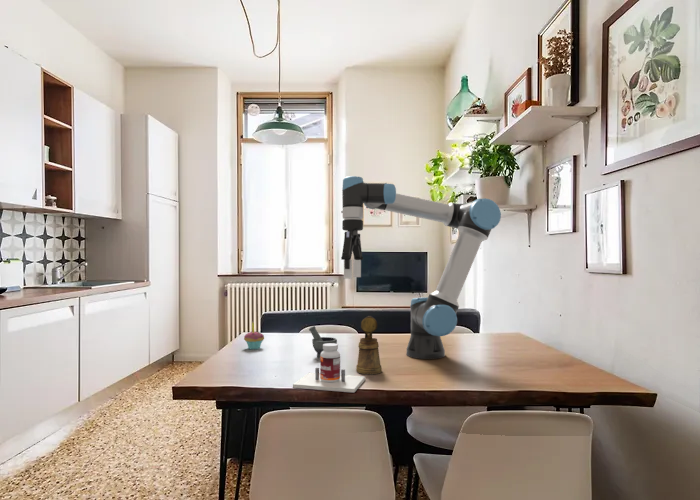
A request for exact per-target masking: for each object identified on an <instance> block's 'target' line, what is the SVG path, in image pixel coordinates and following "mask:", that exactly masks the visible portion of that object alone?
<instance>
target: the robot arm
mask: <svg viewBox="0 0 700 500" xmlns="http://www.w3.org/2000/svg"><path fill="white" fill-rule="evenodd" d="M341 189H342V190H341V191H342V192H341V193H342V194H341V195H342V200H341V201H342V210H341V214H342V219H343V220H342V226H341V227H342V230H343V231H344V238H343V246H342V254H341V260H343V279H346V280H347V279H348V280H349V279H350V280H352V279H353V278H362V261H363V260H364V257H363V252H362V243H361V234H360V233H359V232H358V231H363V229H364V221H363V219H364V206H365V207H366V208H367V209H369V210H376V209H377V210H381V211H386V212H392V213H396V214H401V215H405V216H410V217H416V218H420V219H425V220H429V221H434V222H438V223H443V225H444V226H446V227H450V228H454V229H457V230H458V233H459V235H458V237H457V239H456V242H455V244H454V246H453V249H452V252H451V253H450V255H449V258H448V261H447V263H446V265H445V267H444V269H443V272H442V274H441V277H440V279H439V281H438V283H437V286H436V289H435V291H433V292H430V293H429V295H428V296H427V297H413V298H411V300H410V305H409V306H410V337H409V340H408V342H407V343H408V344H407V346H406V356H407V357H410V358H412V359H420V360H436V359H437V360H439V359H441V358H445V356H446V355H445V353H446V351H445V347H444V344H443V341H442V337H446V336H447V335H450V334H451V333H452V332H454V330H455V328H456V326H457V324H458V316H457V312H458V310H459V307H460V305H459V302H458V299H459V296H460V295H461V291H462V289H463V287H464V284H465V282H466V280H467V278H468V275H469V273H470V270H471V268H472V267H473V266H472V265H473V263H474V261H475V258H476V256H477V254H478V251H479V249H480V246H481V244H482V242H484V241H486V240H488V238H489V236H490V233H491V232H492V230H493V229H495V228H496V227H497V226H498V225H499V223H500V222H501V218H502V216H501V215H502V212H501V209H500V206H499V205H498V204H497V203H496V202H495V201H494V200H492V199H490V198H477V199H475V200H472V201H470V202H467V203H457V202H456V203H455V202H449V203H448V204H447V203H443V202H438V201H433V200H428V199H423V198H419V197H416V196H415V197H414V196H410V195H405V194H402V193H401V194H400V193H397V189H396V185H395V184H393V183H387V182H385V183H384V182H383V183H382V182H381V183H380V182H379V183H374V182H372V183H371V182H365V181H364V179H363V177H361V176H355V175H350V176H346V177H344V178H343V179H342V188H341ZM352 256H353V259H352ZM352 262H353V263H352Z"/></svg>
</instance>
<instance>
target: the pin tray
mask: <svg viewBox="0 0 700 500" xmlns="http://www.w3.org/2000/svg"><path fill="white" fill-rule="evenodd" d="M365 381H366V376H364V375H360V376H359V375H348V374H346V369H344V368H343V369H340V380H339V381H337V382H323V381H321V379H320V367H315V371H314V372H308V373H306V374H305V375H303V376H302V377H301V378H299V379H298V380H297V381H295V382H294V383H293V384H292V388H295V389H305V390H316V391H317V390H318V391H327V392H328V391H330V392H331V391H332V392H343V393H352V394H353V393H355V392H356V391H357V390H358V389H359V388H360V386H362V384H363V383H364V382H365ZM358 387H359V388H358Z"/></svg>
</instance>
